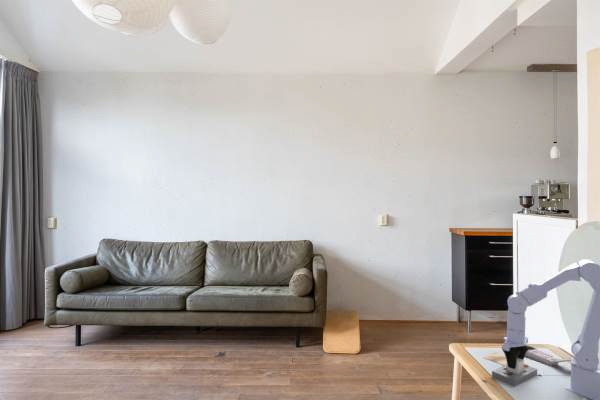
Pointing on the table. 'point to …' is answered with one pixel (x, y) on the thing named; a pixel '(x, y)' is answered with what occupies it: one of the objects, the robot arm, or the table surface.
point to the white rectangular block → (517, 367)
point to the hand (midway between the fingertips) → (515, 366)
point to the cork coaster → (497, 358)
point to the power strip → (514, 375)
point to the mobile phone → (544, 357)
